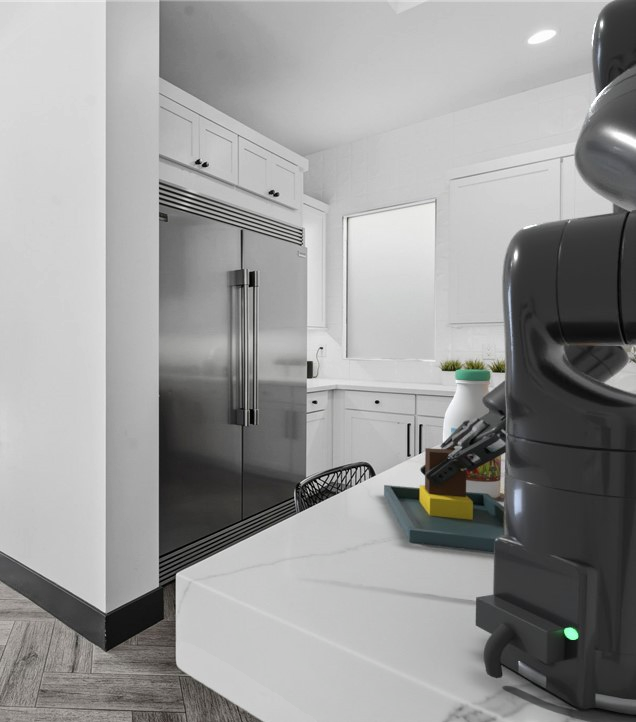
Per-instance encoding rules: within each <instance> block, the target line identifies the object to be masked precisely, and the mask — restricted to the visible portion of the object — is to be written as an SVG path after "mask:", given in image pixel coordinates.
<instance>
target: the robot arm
mask: <svg viewBox="0 0 636 722" xmlns="http://www.w3.org/2000/svg"><path fill="white" fill-rule="evenodd" d="M594 23H595V24H594V26H593V32H592V37H591V39H592V41H591V65H592V66H591V67H592V76H593V83H594V91H595V96H596V97H595V99H594V100H593V102H592V103H591V105H590V107H589V109H588V110H587V113H586V115H585V118H584V120H583V123H582V126H581V128H580V132H579V135H578V137H577V140H576V144H575V147H574V155H573V156H574V157H573V159H574V165H575V169H576V171H577V173H578V175H579V177H580V178H581V179H582V181H583V182H584V183H585V184H586V185H587V186H588V187H589V188H590V189H591V190H592V191H593V192H595V194H598V195H599V196H600V197H602V198H604V199H606V200H607V201H609V202H610V203H611V204H612V212H611V213H602V214H596V215H589V216H582V217H581V216H580V217H574V218H567V219H560V220H554V221H547V222H542V223H536V224H532V225H528V226H525V227H522V228H520V229H519V230H518V231H517V232H515V234H514V235H513V236H512V238H511V239H510V241H509V243H508V245H507V247H506V251H505V255H504V259H503V264H502V274H501V275H502V276H501V298H502V299H501V300H502V318H503V334H504V380H503V381H502V382H501V383H499V384H498V385H497V386H496V387H495V388H493V389H491V390H490V391H489V393H488V394H487V395H486V396H484V397H483V399H482V401H483V404H484V405H485V406H486V407H487V408H488V409H489V413H488V414H486V415H484V416H482V417H481V418H478V417H477V418H475V419H473V420H472V421H469V420H467V421H464V422H463V423H462V424H461V425H460V426H459V427H458V428H457V429H456V430H455V432H454V433H453V434H452V435H451V436H450V437H449V438H448V439H447V440H446V441H445V442H444V443H443V442H442V443H441V444H440V447H439V448H440V449H449V450H454V451H453V452H452V453H450V454H449V455H448V456H447V459H449V460H447V459H446V458H445V459H443V460H442V461H441V462H440V463H438V464H437V465H436V466H434V467H433V468H432V469H430V470H429V471H428V472H426V473H425V464H424V465H422V466H421V467H420V469H419V471H420V473H421V474H423V476H424V478H425V477H426V478H427V479H428V480H429V481H430V482H431V483H432V484H433V485H434V486H437V487H438V486H440V485H442V484H443V483H444V482H446V481H447V480H448V479H450V478H451V477H452V476H454V475H455V474H456V473H458V472H459V470H460V471H465V470H468V471H473V470H474V469H476V468H478V467H480V466H482V465H483V464H485V463H487V462H489V461H491V460H493V459H495V458H496V457H498V456H500V455H501V456H502V455H504V454H505V455H504V484H503V485H504V489H503V490H504V492H503V495H504V496H503V507H504V526H503V536H498V537H496V538H495V541H494V552H493V581H492V583H493V584H492V585H493V586H492V587H493V588H492V594H487V595H483V596H476V597H475V626H476V627H478V628H480V629H481V630H483V631H485V632H486V633H489V634H491V635H490V636H489V638H488V639H487V641H486V643H485V645H484V649H483V662H484V667H485V672H486V674H487V675H488V676H490V677H491V678H494V679H501V678H502V677H503V667H502V665H503V666H505V667H507V668H508V669H511V670H512V671H514V672H515V673H517V674H519V675H521V676H522V677H524V678H525V679H526V678H527V679H528V680H529V681H531V682H532V683H535V684H536V685H538V686H539V687H541V688H543V689H544V690H546V691H548V692H550V693H551V694H553V695H555V696H557V697H558V698H560V699H562V700H564V701H565V702H567V703H568V704H571V705H572V706H574V707H575V708H577V709H580V710H588V709H594V708H595V709H601V710H606V711H609V712H610V711H611V712H616V713H619V714H620V713H621V714H628V715H636V393H634V392H631V391H627V390H624V389H621V388H618V387H615V386H614V385H613V386H612V385H610V384H608V383H606V382H608V381H609V380H610V379H612V378H613V377H614V376H616V375H617V374H619V372H621V371H622V370H623V369H624V368H625V367H626V366H627V365H628V363H629V360H630V356H629V353H628V351H627V350H626V349H625V347H627V346H631V347H636V0H612V1H609V2H608V3H607V4H605V6H604V7H602V9H601V10H600V12H599V13H598V15H597V18H596V20H595V22H594ZM455 446H458V448H456V449H455V448H454V447H455ZM467 456H469V457H470V458H468V457H467Z"/></svg>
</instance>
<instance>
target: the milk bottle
mask: <svg viewBox="0 0 636 722" xmlns="http://www.w3.org/2000/svg"><path fill="white" fill-rule="evenodd" d="M491 377H492V376H491V371H490V370H487V369H456V370H455V375H454V378H455V382H454V383H455V384H456V389H455V392H454V395H453V398H452V400H451V401H450V403H449V405H448V406H447V408H446V411H445V414H444V418H443V426H442V443H444V442H445V441H446V440H447V439H448V438H449V437H450V436H451V435H452V434H453V433H454V432H455V430H456V429H457V428H458V427H459V426H460V425H461V424H462V423H463V422H464V421H467V420H469V421H472V420H473V419H475V418H477V417H478V418H481V417H482V416H484V415H486V414H488V413H489V409H488V408H487V407H486V406H485V405H484V404H483V401H482V399H483V397H484V396H486V395H487V394H488V393H489V392H490V391H489V386H490V384H491ZM454 448H455V449H456V448H458V446H455V447H454ZM467 457H468V458H470V457H469V456H467ZM501 477H502V455H500V456H498V457H496V458H495V459H493V460H491V461H489V462H487V463H485V464H483V465H482V466H480V467H478V468H476V469H474V470H473V471H468V470H466V492H473V493H485V494H489V495H490V496H491V497H492V498H493V499H497V498H499V497H500V495H501V485H502V483H501V481H502V478H501Z"/></svg>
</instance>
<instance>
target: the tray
mask: <svg viewBox="0 0 636 722" xmlns="http://www.w3.org/2000/svg"><path fill="white" fill-rule="evenodd" d="M383 495H384V498H385V499H386V501H387V504H388V505H389V507H390V509H391V511H392V513H393V515H394V516H395V518H396V521H397V522H398V524H399V526H400V528H401V530H402V531H403V533H404V535H405V537H406V539H407V541H408V543H411V544H419V545H428V546H437V547H444V548H453V549H462V550H470V551H478V552H479V551H480V552H488V553H494V541H495V538H496V537H498V536H503V526H504V505H502V504H501V503H499V501H497V500H496V498H492V497H491V496H490V495H489V494H485V493H473V492H466V496H467V497H468V498H469V499H471V500H472V501H473V520H469V519H459V518H448V517H438V516H430V515H429V514H428V512H427V511H426V510H425V508H424V507H423V506H422V504H421V503H420V487H413V486H412V487H411V486H402V485H401V486H400V485H390V484H384V485H383Z"/></svg>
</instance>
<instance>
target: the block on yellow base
mask: <svg viewBox="0 0 636 722" xmlns="http://www.w3.org/2000/svg"><path fill="white" fill-rule="evenodd" d="M424 450H425V451H424V452H425V455H424V462H425V463H424V465H425V473H426V472H428V471H429V470H430V469H432V468H433V467H434V466H436V465H437V464H438V463H440V462H441V461H442V460H443V459H445V458H446V459H447V456H448V455H449V454H450V453H452V452H453V451H454V450H449V449H441V448H431V447H430V448H429V447H425V449H424ZM447 460H449V459H447ZM419 488H420V503H421V504H422V506H423V507H424V508H425V510H426V511H427V512H428V514H429V515H430V516H438V517H448V518H459V519H469V520H473V501H472V500H471V499H469V498H468V497H467V496H466V470H465V471H460V470H459V472H458V473H456V474H455V475H454V476H452V477H451V478H450V479H448V480H447V481H446V482H444V483H443V484H442V485H440V486H438V487H437V486H434V485H433V484H432V483H431V482H430V481H429V480H428V479H427V478H426V477H425V476H424V485H423V484H422V485H419Z"/></svg>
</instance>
